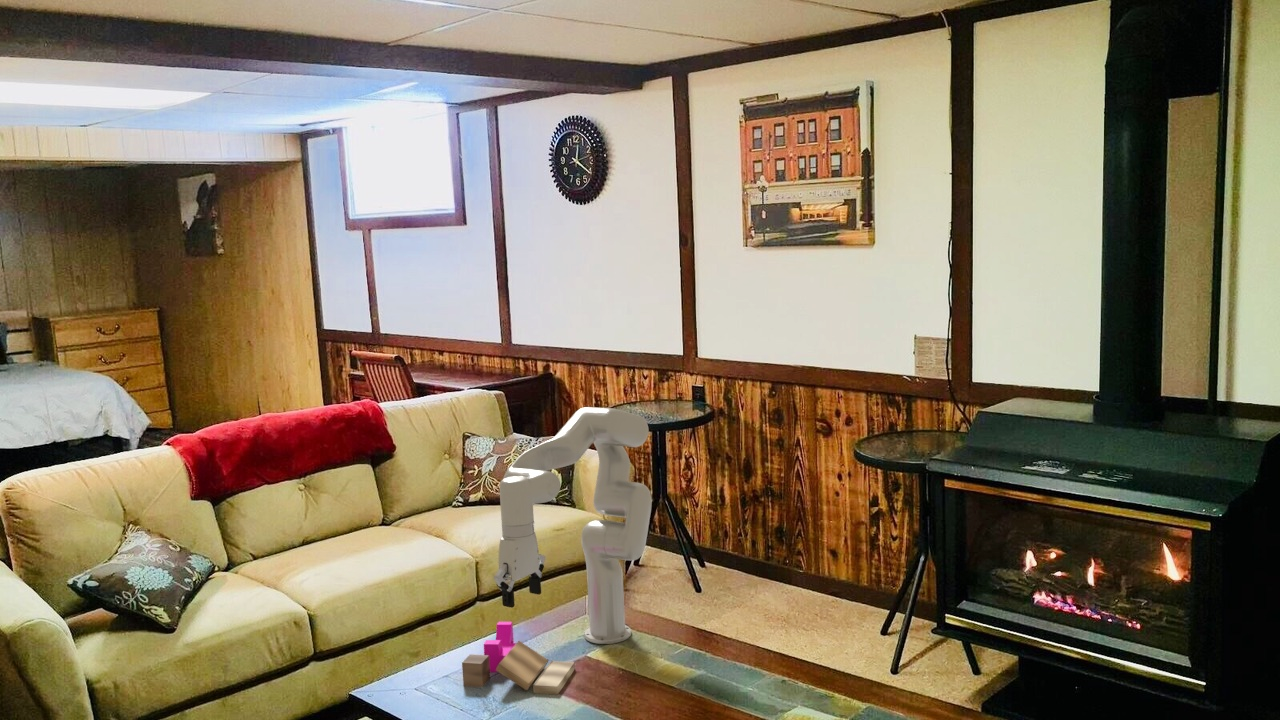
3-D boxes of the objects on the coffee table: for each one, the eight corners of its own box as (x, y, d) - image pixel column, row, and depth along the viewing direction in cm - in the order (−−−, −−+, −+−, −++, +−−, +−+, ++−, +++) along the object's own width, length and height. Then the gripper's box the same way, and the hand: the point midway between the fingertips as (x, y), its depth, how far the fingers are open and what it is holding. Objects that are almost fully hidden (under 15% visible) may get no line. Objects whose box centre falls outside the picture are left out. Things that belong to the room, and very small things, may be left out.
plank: (515, 646, 259) (519, 640, 258) (545, 666, 258) (549, 660, 257) (495, 669, 245) (499, 663, 245) (526, 690, 244) (530, 684, 244)
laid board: (551, 668, 257) (551, 660, 257) (574, 669, 256) (574, 661, 256) (533, 693, 244) (533, 684, 244) (557, 694, 242) (557, 686, 242)
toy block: (509, 673, 256) (508, 644, 256) (485, 672, 257) (483, 644, 256) (523, 649, 271) (521, 621, 270) (500, 648, 272) (498, 621, 271)
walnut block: (471, 677, 254) (469, 654, 254) (490, 678, 253) (488, 655, 253) (463, 686, 250) (461, 662, 249) (482, 687, 248) (481, 663, 248)
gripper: (529, 518, 250) (533, 586, 252) (481, 537, 235) (485, 609, 237) (553, 522, 245) (557, 591, 247) (505, 541, 231) (510, 614, 233)
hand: (522, 599), depth 242 cm, fingers open, 9 cm apart
